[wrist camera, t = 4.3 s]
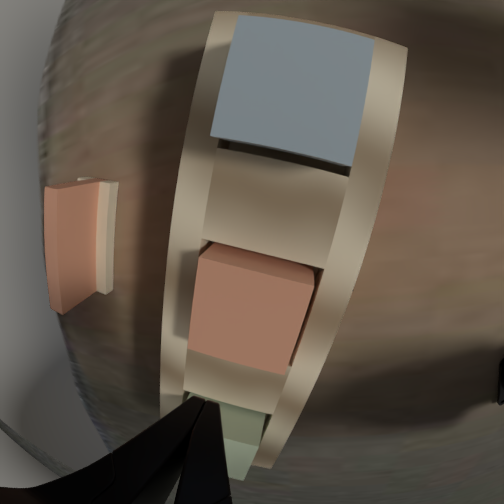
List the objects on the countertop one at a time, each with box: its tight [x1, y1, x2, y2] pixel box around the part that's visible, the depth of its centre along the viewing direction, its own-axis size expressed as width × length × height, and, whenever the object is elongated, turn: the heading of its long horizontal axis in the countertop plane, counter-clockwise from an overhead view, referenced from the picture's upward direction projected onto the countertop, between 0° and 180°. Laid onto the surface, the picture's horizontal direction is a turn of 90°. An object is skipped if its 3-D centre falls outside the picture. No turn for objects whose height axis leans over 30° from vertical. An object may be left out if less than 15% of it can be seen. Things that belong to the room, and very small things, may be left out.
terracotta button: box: [187, 242, 314, 375], centre depth 15 cm, size 5×5×3 cm
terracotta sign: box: [44, 177, 119, 315], centre depth 17 cm, size 8×3×5 cm, turn 168°
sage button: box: [187, 392, 266, 480], centre depth 17 cm, size 5×5×3 cm
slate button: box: [210, 15, 375, 166], centre depth 10 cm, size 5×5×3 cm
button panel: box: [160, 11, 408, 469], centre depth 16 cm, size 28×9×4 cm, turn 168°
